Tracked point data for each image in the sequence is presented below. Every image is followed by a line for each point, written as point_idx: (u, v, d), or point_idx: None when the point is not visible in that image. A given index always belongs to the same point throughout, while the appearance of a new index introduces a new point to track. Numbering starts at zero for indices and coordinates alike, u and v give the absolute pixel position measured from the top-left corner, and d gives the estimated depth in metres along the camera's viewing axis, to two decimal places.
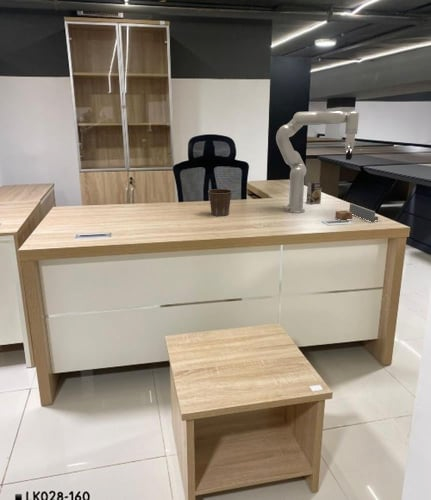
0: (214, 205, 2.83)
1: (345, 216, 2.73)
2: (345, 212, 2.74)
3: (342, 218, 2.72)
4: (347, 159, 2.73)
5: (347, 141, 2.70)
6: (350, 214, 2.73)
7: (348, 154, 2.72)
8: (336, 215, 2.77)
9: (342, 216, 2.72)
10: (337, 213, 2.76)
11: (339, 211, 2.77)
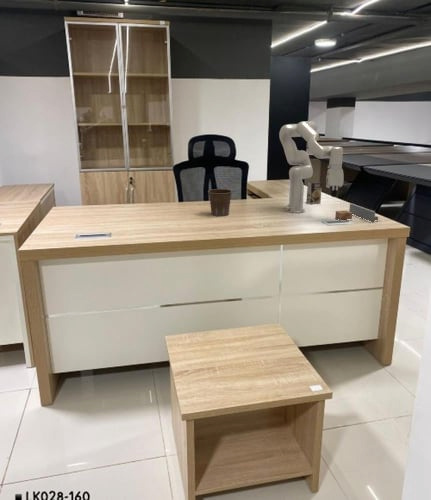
0: (214, 205, 2.83)
1: (345, 216, 2.73)
2: (345, 212, 2.74)
3: (341, 218, 2.73)
4: None
5: None
6: (350, 214, 2.73)
7: None
8: (336, 215, 2.77)
9: (341, 216, 2.72)
10: (337, 213, 2.76)
11: (339, 211, 2.77)
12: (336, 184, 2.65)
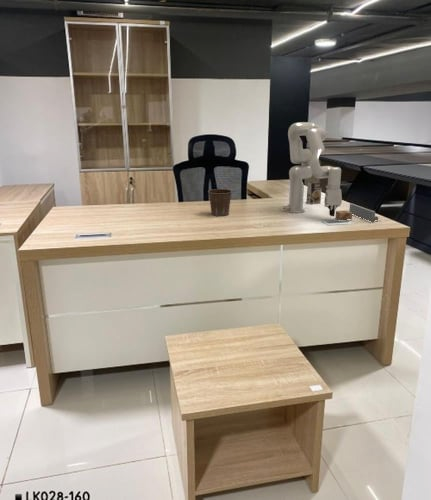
0: (214, 205, 2.83)
1: (345, 216, 2.73)
2: (345, 212, 2.74)
3: (341, 218, 2.73)
4: (333, 215, 2.73)
5: None
6: (350, 214, 2.73)
7: None
8: (336, 215, 2.77)
9: (341, 216, 2.72)
10: (337, 213, 2.76)
11: (339, 211, 2.77)
12: (334, 204, 2.69)
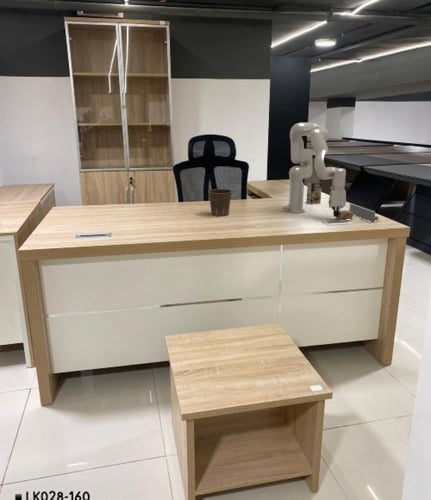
0: (214, 205, 2.83)
1: (345, 216, 2.73)
2: (345, 212, 2.74)
3: (341, 218, 2.73)
4: None
5: None
6: (350, 214, 2.73)
7: None
8: None
9: (341, 215, 2.72)
10: None
11: (340, 211, 2.77)
12: (338, 205, 2.70)
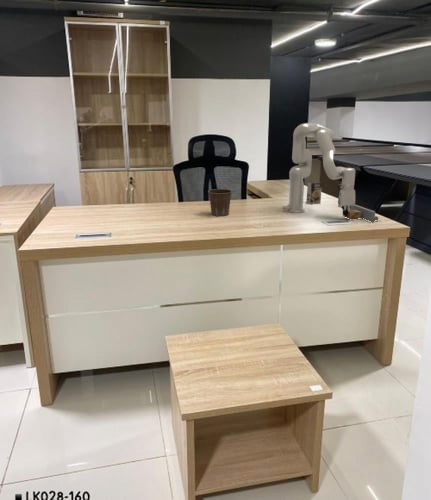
0: (214, 205, 2.83)
1: (354, 215, 2.75)
2: (354, 211, 2.76)
3: (351, 217, 2.75)
4: (346, 215, 2.76)
5: None
6: (359, 213, 2.75)
7: None
8: None
9: (351, 215, 2.74)
10: None
11: (348, 210, 2.79)
12: (348, 204, 2.71)
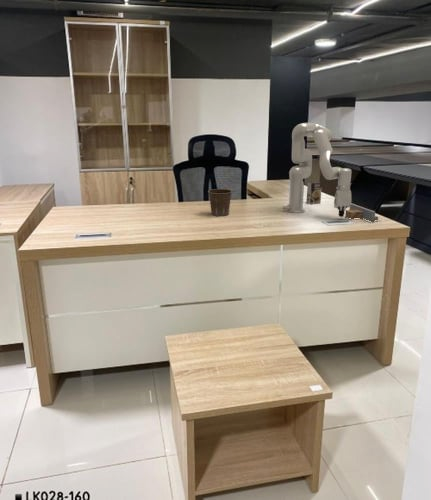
0: (214, 205, 2.83)
1: (356, 215, 2.76)
2: (355, 211, 2.77)
3: (352, 217, 2.75)
4: None
5: None
6: (360, 213, 2.76)
7: None
8: (346, 214, 2.80)
9: (352, 215, 2.75)
10: (347, 212, 2.79)
11: (349, 210, 2.80)
12: (344, 205, 2.71)
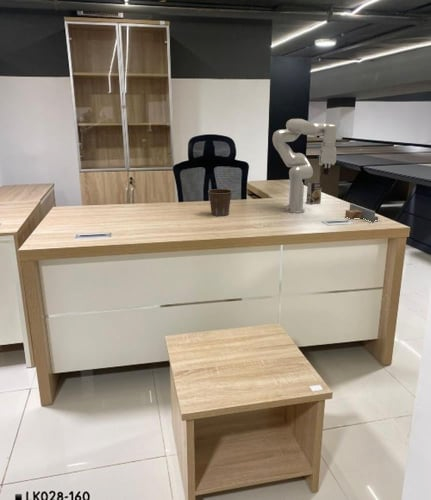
0: (214, 205, 2.83)
1: (355, 215, 2.76)
2: (355, 211, 2.77)
3: (352, 217, 2.75)
4: None
5: None
6: (360, 213, 2.76)
7: None
8: (346, 214, 2.80)
9: (352, 215, 2.75)
10: (347, 212, 2.79)
11: (349, 210, 2.80)
12: (329, 162, 2.66)
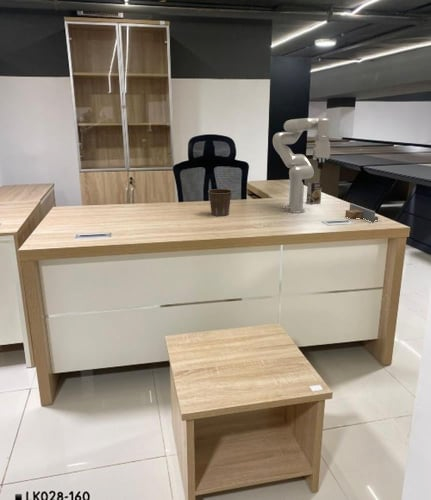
0: (214, 205, 2.83)
1: (356, 215, 2.75)
2: (355, 211, 2.77)
3: (352, 217, 2.75)
4: (321, 168, 2.71)
5: None
6: (360, 213, 2.76)
7: None
8: (346, 214, 2.80)
9: (352, 215, 2.75)
10: (347, 212, 2.79)
11: (349, 210, 2.80)
12: (323, 156, 2.66)
